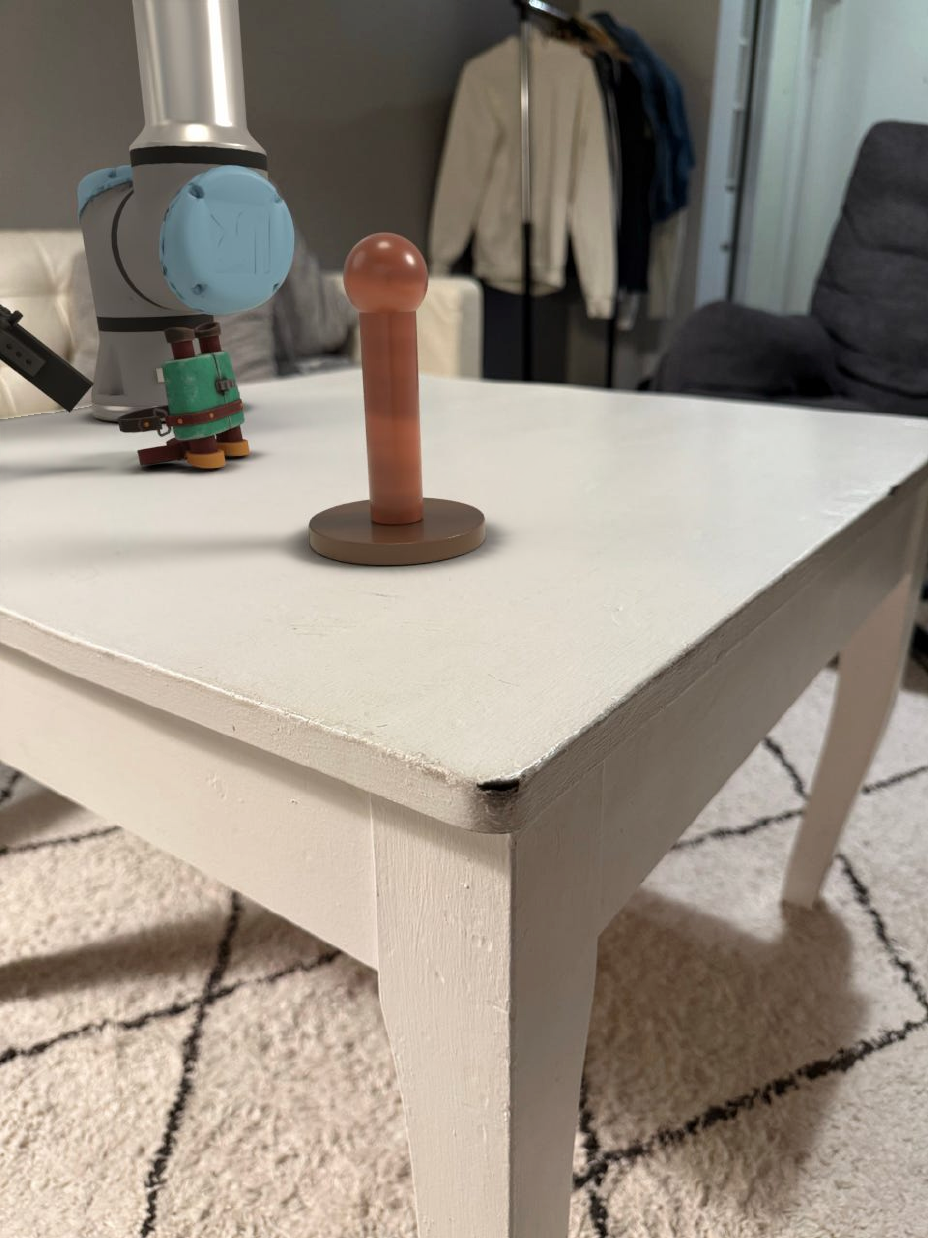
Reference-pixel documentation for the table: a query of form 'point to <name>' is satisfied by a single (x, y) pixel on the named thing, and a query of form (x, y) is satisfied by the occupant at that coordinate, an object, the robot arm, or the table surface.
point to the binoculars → (194, 403)
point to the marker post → (392, 424)
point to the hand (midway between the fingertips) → (81, 397)
